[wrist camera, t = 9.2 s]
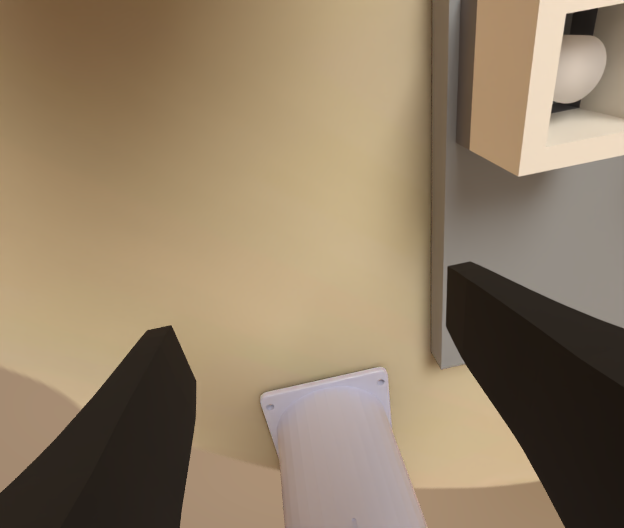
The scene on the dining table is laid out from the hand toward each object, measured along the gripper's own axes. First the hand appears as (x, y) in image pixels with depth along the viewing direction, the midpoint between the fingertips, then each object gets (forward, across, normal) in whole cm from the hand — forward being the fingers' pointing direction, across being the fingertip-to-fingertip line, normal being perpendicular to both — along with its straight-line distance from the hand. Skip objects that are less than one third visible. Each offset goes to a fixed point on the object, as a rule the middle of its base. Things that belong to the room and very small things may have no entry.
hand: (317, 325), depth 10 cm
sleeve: (+8, -10, -4) cm, 13 cm away
